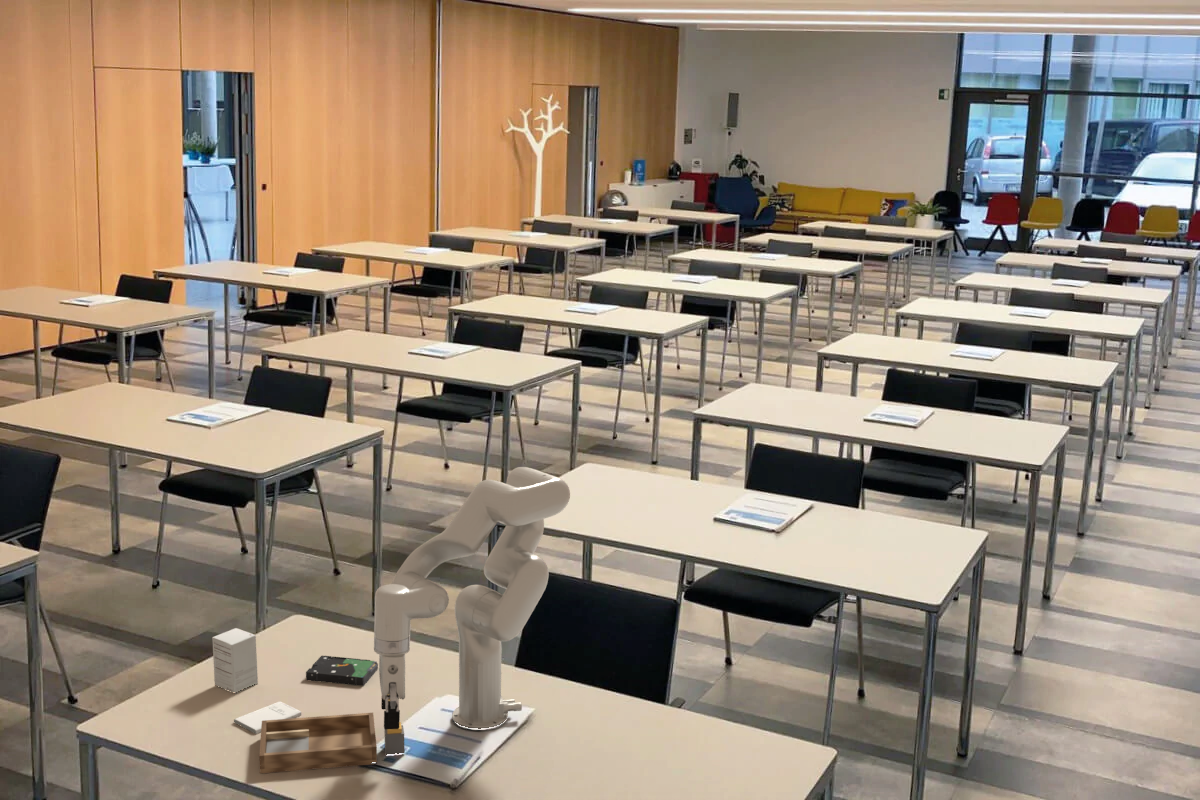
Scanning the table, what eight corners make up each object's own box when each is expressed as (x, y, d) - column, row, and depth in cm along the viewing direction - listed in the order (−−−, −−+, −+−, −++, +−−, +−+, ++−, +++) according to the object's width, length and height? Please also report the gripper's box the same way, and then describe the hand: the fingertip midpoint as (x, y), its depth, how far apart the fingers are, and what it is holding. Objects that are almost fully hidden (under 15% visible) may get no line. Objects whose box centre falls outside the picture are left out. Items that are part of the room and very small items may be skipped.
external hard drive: (233, 725, 295) (279, 706, 304) (256, 736, 290) (301, 717, 299) (233, 718, 294) (279, 700, 304) (255, 729, 289) (301, 710, 299)
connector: (403, 746, 286) (403, 720, 285) (404, 755, 282) (404, 729, 281) (384, 747, 285) (384, 722, 284) (385, 756, 281) (385, 730, 280)
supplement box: (238, 675, 318) (236, 626, 315) (258, 684, 314) (256, 634, 311) (213, 686, 312) (211, 636, 310) (233, 694, 308) (231, 644, 305)
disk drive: (305, 683, 317) (364, 688, 314) (305, 672, 316) (364, 677, 314) (321, 665, 327) (378, 669, 324) (320, 654, 326) (378, 659, 324)
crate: (373, 728, 293) (373, 712, 292) (376, 763, 278) (376, 746, 277) (262, 737, 288) (261, 720, 287) (259, 773, 273) (259, 755, 272)
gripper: (412, 658, 270) (410, 735, 274) (406, 627, 287) (405, 700, 290) (375, 659, 269) (374, 737, 272) (372, 628, 285) (370, 702, 289)
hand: (390, 718), depth 281 cm, fingers open, 9 cm apart
